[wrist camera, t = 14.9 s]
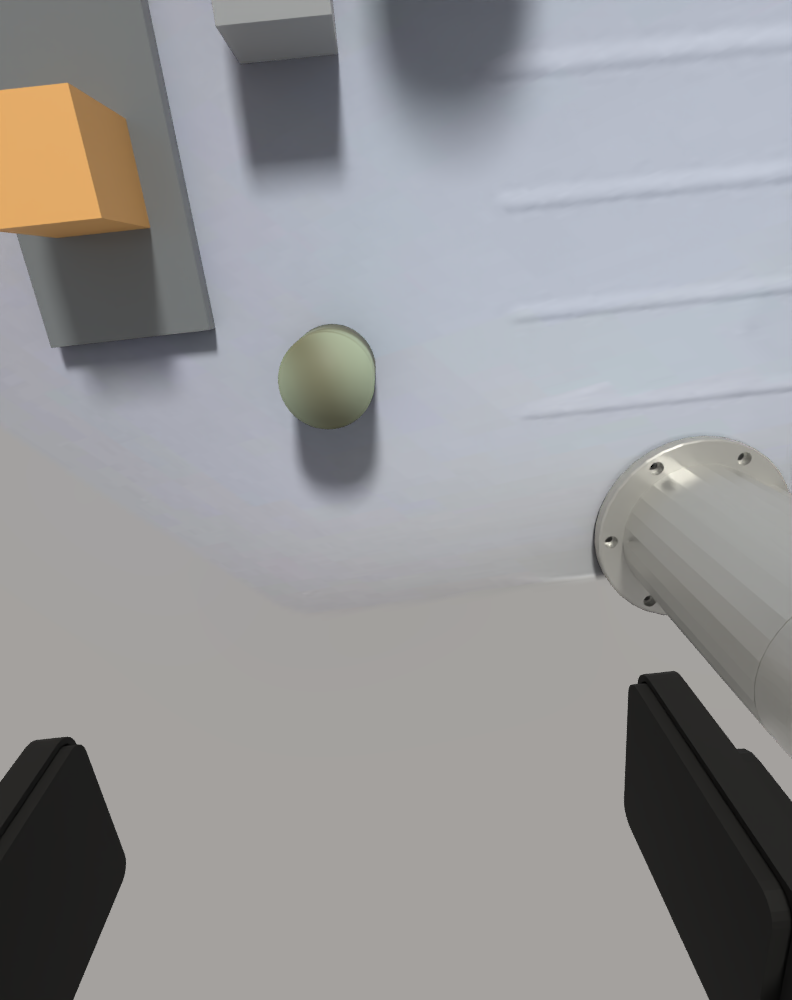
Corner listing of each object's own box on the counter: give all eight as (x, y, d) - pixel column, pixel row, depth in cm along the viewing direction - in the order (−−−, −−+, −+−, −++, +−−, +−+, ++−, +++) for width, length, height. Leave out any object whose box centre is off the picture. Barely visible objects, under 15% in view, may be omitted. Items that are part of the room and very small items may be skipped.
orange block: (125, 118, 30) (67, 82, 24) (150, 228, 32) (101, 217, 26) (26, 129, 30) (-54, 96, 24) (56, 238, 32) (-12, 230, 26)
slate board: (144, -12, 29) (135, -24, 28) (215, 328, 35) (209, 329, 34) (-39, 9, 29) (-55, -1, 28) (61, 345, 35) (51, 347, 34)
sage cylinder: (362, 314, 35) (359, 321, 30) (384, 397, 36) (385, 416, 32) (280, 336, 35) (265, 347, 30) (306, 417, 37) (295, 439, 32)
